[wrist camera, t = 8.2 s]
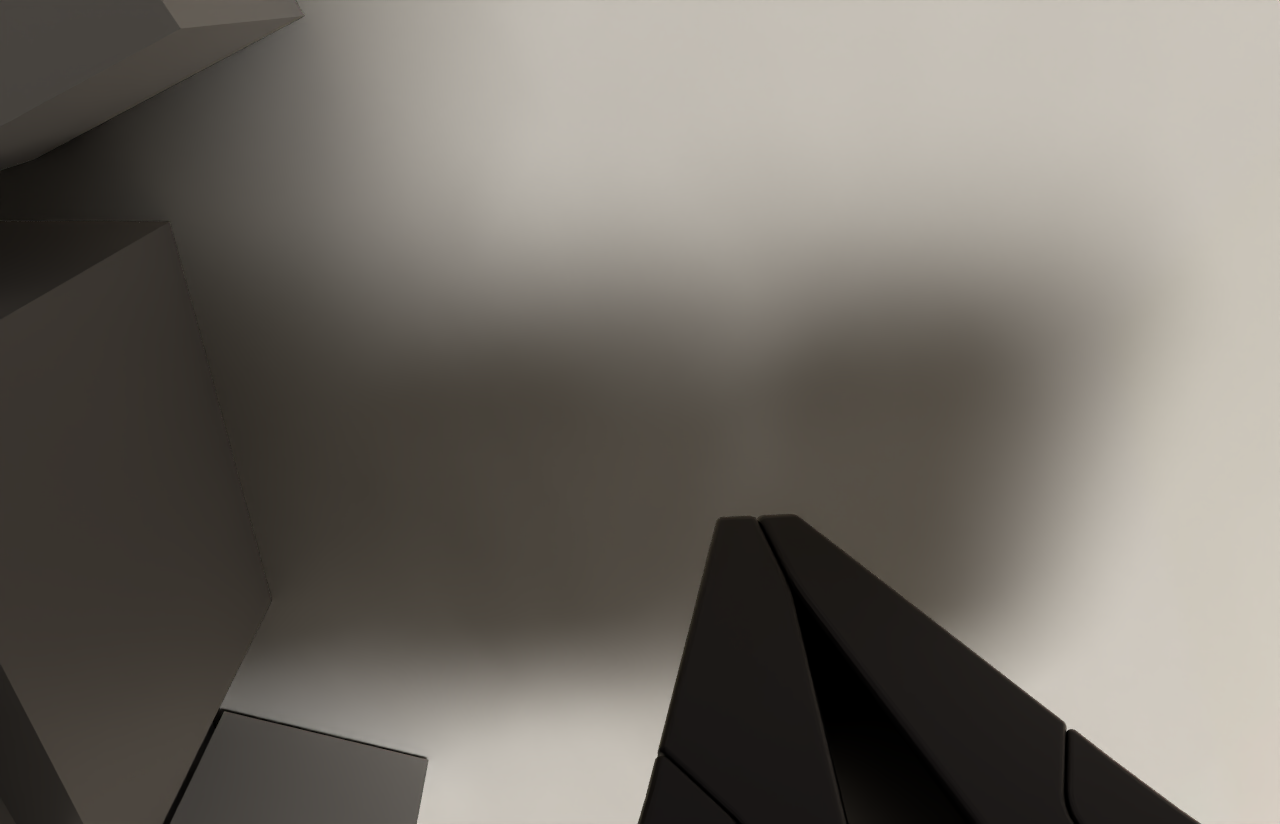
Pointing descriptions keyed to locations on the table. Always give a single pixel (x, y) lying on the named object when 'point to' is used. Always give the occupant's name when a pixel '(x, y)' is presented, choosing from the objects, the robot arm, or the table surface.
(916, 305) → the table surface
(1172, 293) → the table surface
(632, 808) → the table surface
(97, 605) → the two tier gray step
